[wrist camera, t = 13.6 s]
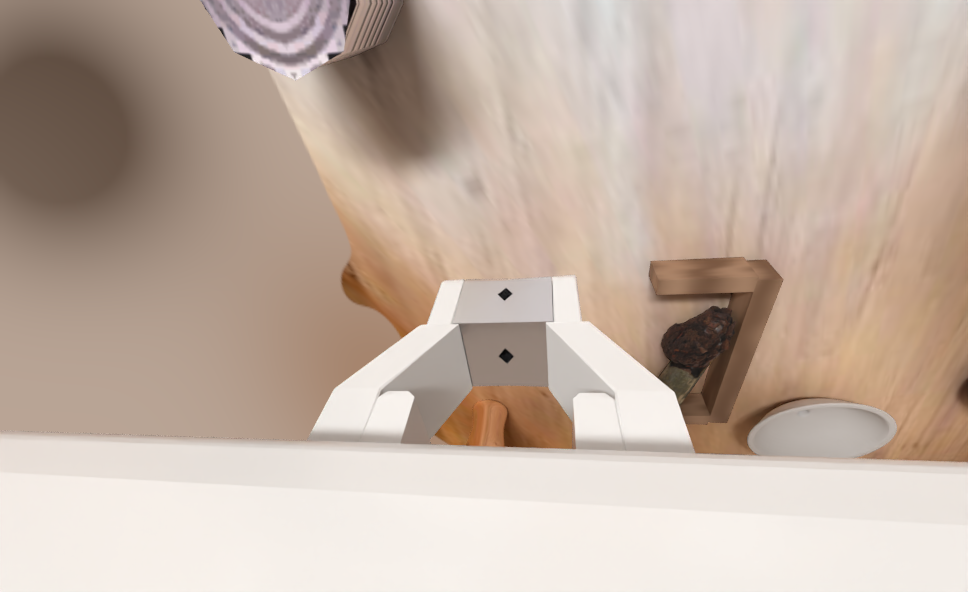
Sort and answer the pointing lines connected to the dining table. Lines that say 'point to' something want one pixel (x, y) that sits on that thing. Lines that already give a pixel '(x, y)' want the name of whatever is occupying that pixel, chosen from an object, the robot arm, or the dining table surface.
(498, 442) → the beer glass
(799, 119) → the dining table surface
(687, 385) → the metal pipe
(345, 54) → the can
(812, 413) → the dish
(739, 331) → the walnut cradle
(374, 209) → the dining table surface
